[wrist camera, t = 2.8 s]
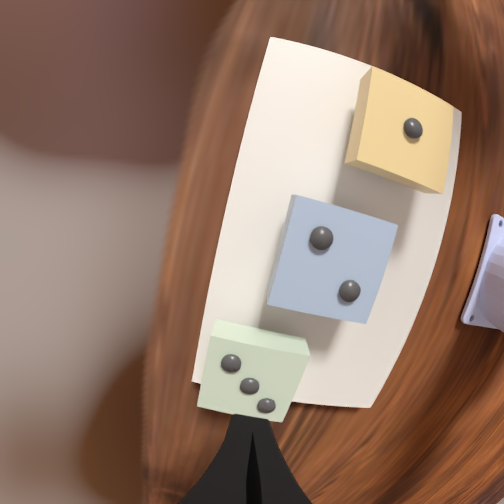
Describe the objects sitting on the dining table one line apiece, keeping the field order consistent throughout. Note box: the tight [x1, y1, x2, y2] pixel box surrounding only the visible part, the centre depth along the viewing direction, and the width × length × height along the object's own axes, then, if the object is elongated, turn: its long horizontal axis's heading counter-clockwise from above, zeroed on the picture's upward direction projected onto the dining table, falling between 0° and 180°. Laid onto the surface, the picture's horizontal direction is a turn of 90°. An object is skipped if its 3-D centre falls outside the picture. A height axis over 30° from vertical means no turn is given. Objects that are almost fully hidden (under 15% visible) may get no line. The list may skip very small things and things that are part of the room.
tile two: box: [267, 195, 398, 324], centre depth 12 cm, size 4×4×2 cm
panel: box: [192, 37, 462, 408], centre depth 14 cm, size 12×20×2 cm, turn 167°
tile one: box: [344, 66, 454, 194], centre depth 10 cm, size 4×4×2 cm
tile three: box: [197, 319, 310, 422], centre depth 13 cm, size 4×4×2 cm
